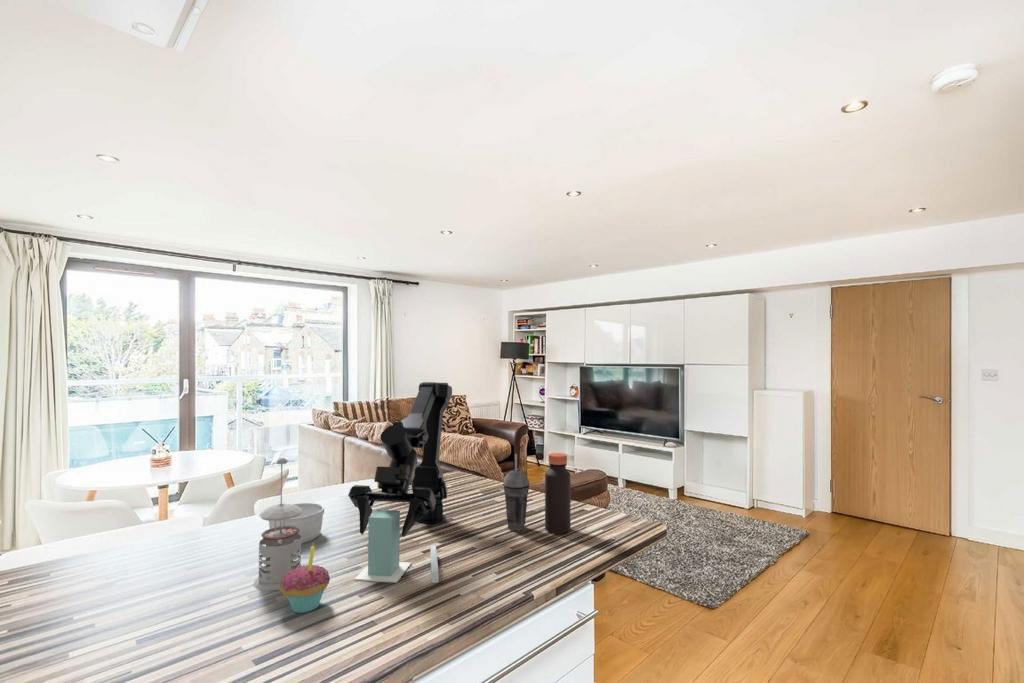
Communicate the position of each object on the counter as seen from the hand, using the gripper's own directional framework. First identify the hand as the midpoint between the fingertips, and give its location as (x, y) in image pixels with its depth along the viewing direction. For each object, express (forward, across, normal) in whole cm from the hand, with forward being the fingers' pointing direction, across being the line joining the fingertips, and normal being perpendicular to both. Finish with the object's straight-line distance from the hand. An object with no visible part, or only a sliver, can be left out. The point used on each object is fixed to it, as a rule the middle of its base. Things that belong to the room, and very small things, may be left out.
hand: (381, 534), depth 102 cm
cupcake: (+16, -9, -4) cm, 19 cm away
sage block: (+5, 0, +7) cm, 8 cm away
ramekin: (-6, -30, +18) cm, 36 cm away
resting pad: (+5, 0, +7) cm, 8 cm away
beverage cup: (-16, +25, +28) cm, 41 cm away
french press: (+9, -21, +3) cm, 23 cm away
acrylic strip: (+3, +10, +9) cm, 14 cm away
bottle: (-16, +36, +28) cm, 49 cm away
